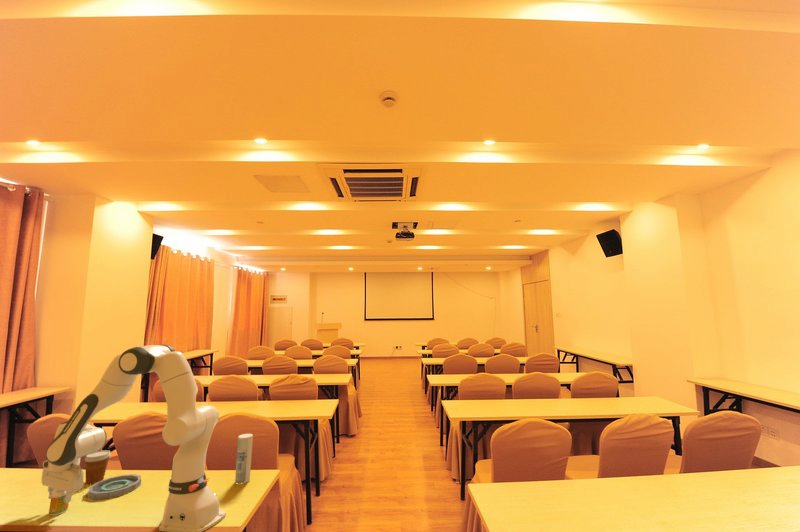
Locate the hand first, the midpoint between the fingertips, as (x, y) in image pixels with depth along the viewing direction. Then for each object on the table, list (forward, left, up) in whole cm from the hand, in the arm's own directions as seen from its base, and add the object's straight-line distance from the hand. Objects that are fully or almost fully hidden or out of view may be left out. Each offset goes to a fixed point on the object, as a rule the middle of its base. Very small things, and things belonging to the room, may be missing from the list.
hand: (59, 500), depth 134 cm
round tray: (0, -20, -4) cm, 21 cm away
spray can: (-48, -45, -5) cm, 66 cm away
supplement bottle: (0, 0, -5) cm, 5 cm away
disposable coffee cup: (+18, -22, -5) cm, 29 cm away
